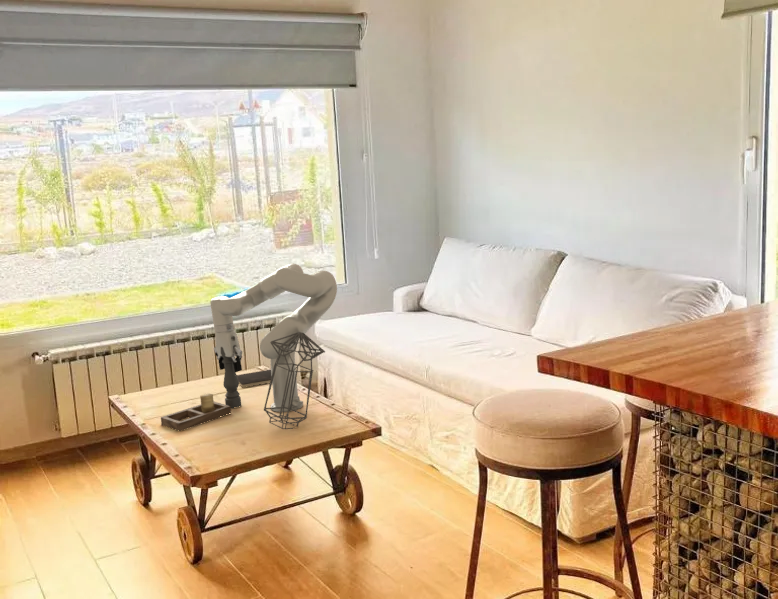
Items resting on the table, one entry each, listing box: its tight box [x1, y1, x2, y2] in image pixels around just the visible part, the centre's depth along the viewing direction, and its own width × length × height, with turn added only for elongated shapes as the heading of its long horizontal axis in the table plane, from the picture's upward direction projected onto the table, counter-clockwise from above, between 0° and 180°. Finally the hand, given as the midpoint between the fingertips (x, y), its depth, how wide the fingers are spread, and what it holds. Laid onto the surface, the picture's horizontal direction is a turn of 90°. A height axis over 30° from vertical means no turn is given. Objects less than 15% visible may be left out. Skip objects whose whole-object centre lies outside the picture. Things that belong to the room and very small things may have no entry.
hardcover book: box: [236, 369, 272, 388], centre depth 381 cm, size 16×23×2 cm
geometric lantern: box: [263, 332, 326, 430], centre depth 314 cm, size 16×16×35 cm
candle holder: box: [221, 347, 242, 409], centre depth 344 cm, size 6×6×25 cm
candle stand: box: [160, 393, 232, 432], centre depth 332 cm, size 12×23×8 cm, turn 136°
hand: (230, 370), depth 343 cm, fingers open, 9 cm apart
